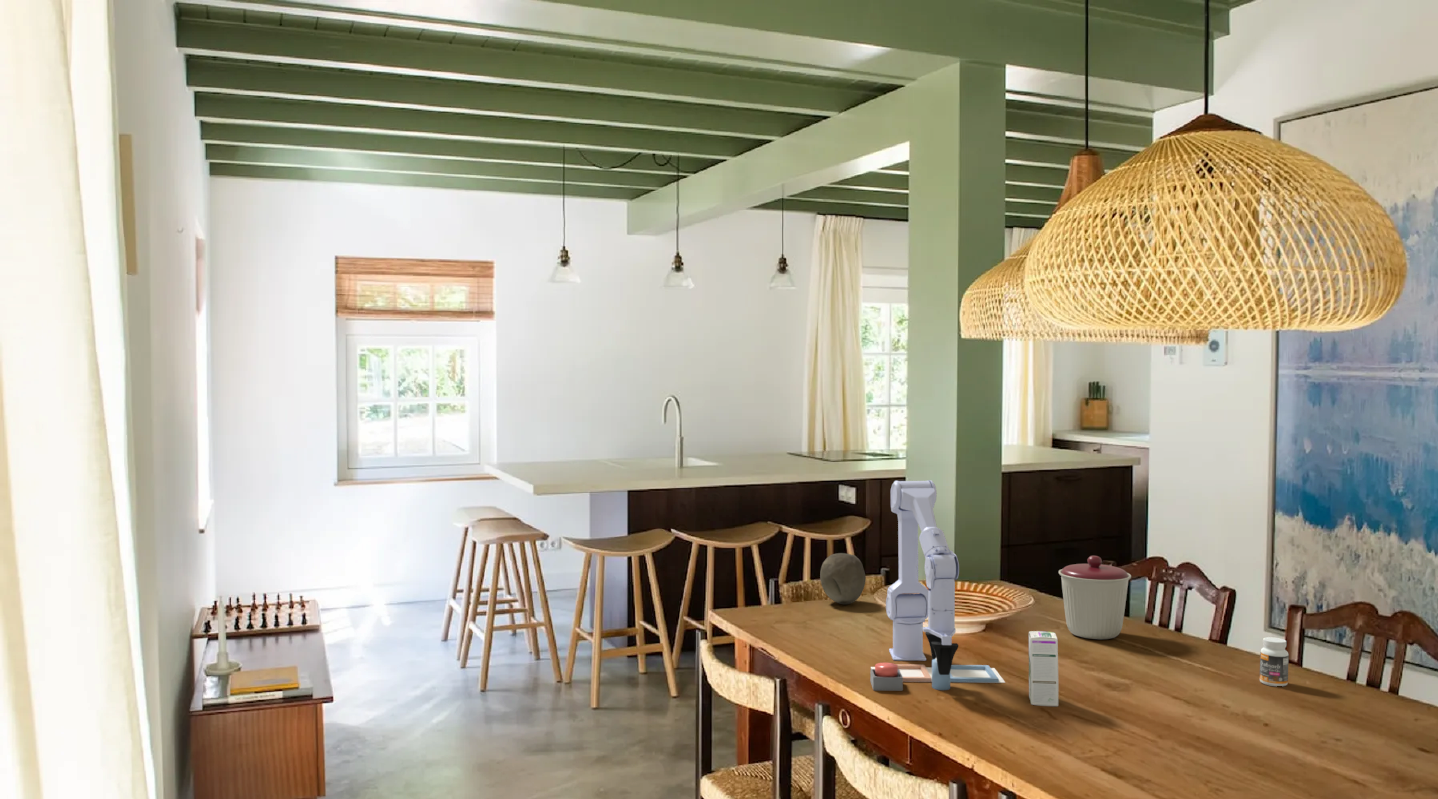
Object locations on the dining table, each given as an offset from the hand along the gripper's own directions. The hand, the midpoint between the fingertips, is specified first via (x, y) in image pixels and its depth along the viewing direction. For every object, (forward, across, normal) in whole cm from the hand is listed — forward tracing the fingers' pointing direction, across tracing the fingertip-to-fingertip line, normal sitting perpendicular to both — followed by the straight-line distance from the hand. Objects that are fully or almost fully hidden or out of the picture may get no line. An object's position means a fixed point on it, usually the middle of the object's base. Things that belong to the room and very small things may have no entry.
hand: (941, 669), depth 236 cm
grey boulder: (+4, -84, -16) cm, 85 cm away
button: (+1, -1, -12) cm, 12 cm away
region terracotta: (+4, -10, -7) cm, 13 cm away
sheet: (+4, -10, 0) cm, 11 cm away
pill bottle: (+4, -6, +75) cm, 75 cm away
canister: (+4, -48, +48) cm, 68 cm away
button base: (+4, -1, -12) cm, 13 cm away
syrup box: (+4, +9, +20) cm, 22 cm away
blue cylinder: (+4, 0, 0) cm, 4 cm away
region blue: (+4, -10, +8) cm, 13 cm away
